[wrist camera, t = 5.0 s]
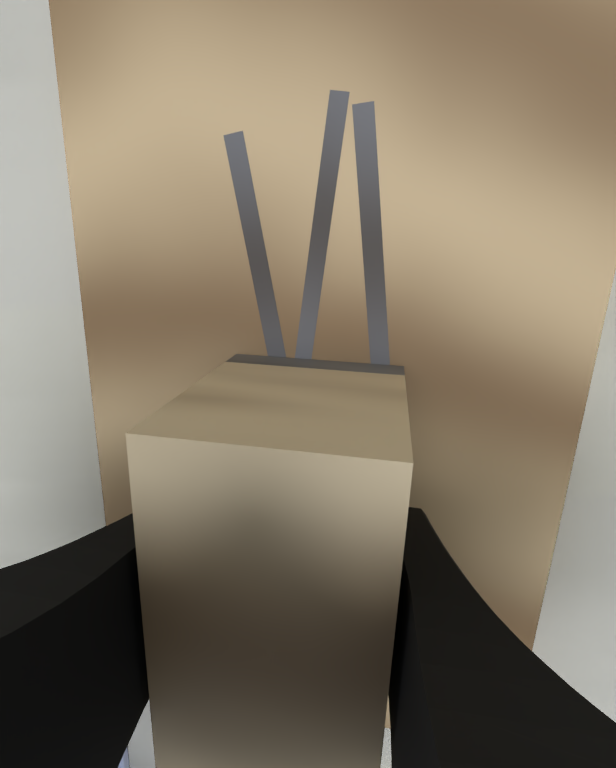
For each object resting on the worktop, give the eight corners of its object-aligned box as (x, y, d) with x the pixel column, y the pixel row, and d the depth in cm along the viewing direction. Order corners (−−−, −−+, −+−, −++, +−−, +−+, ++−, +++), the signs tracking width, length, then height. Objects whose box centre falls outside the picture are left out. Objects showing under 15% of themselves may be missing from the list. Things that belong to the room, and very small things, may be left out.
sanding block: (380, 613, 13) (373, 829, 8) (239, 591, 13) (156, 781, 9) (404, 366, 11) (413, 463, 6) (236, 353, 11) (125, 433, 7)
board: (500, 711, 15) (509, 751, 13) (141, 647, 16) (122, 677, 15) (695, -245, 8) (746, -325, 7) (65, -174, 10) (23, -227, 9)
